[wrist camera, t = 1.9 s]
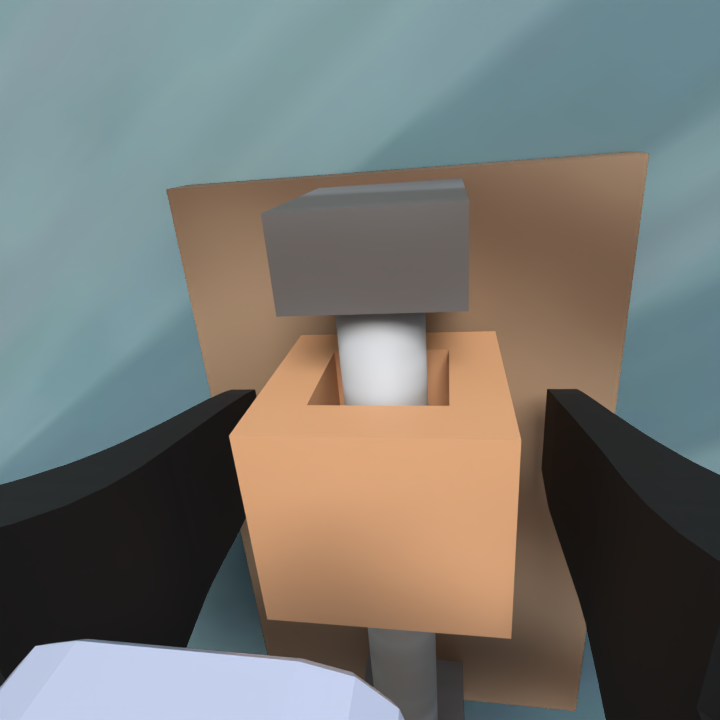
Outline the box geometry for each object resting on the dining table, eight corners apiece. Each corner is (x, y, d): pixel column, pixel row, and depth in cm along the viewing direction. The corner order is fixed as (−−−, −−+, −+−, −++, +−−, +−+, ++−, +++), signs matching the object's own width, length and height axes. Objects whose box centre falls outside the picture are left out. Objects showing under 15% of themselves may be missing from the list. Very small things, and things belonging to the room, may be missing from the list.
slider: (491, 481, 13) (511, 638, 9) (319, 476, 14) (267, 619, 10) (495, 331, 11) (521, 440, 7) (301, 335, 12) (228, 436, 8)
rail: (569, 680, 17) (610, 866, 13) (281, 654, 19) (231, 810, 15) (632, 151, 11) (758, 164, 6) (186, 184, 12) (47, 213, 8)
